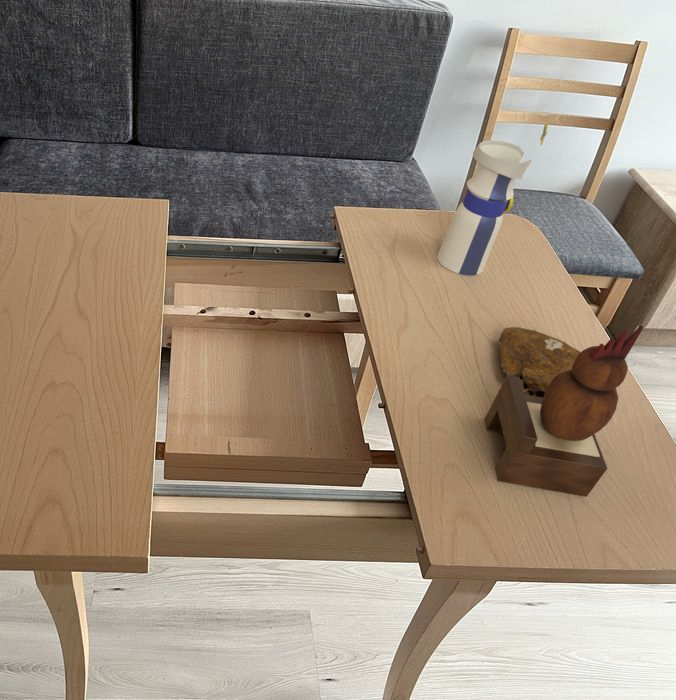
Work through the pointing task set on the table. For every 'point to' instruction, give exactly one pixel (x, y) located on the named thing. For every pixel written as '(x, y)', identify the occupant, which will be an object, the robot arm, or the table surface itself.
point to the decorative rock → (534, 358)
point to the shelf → (540, 446)
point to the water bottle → (483, 206)
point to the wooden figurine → (587, 390)
